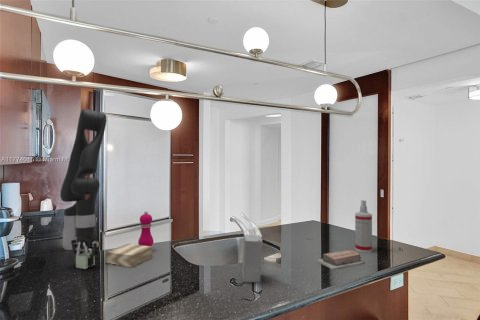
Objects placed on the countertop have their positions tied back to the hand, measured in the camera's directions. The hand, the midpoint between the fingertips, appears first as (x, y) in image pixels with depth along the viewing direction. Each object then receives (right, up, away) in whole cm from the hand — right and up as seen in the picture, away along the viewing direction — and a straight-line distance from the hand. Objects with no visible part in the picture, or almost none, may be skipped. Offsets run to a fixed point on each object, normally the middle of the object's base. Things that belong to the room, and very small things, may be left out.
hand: (85, 265), depth 127 cm
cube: (0, 0, 0) cm, 0 cm away
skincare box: (+70, -1, -12) cm, 71 cm away
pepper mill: (+19, -1, +22) cm, 29 cm away
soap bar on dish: (+110, -2, +5) cm, 110 cm away
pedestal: (+16, -1, +8) cm, 18 cm away
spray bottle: (+128, -1, +24) cm, 130 cm away
